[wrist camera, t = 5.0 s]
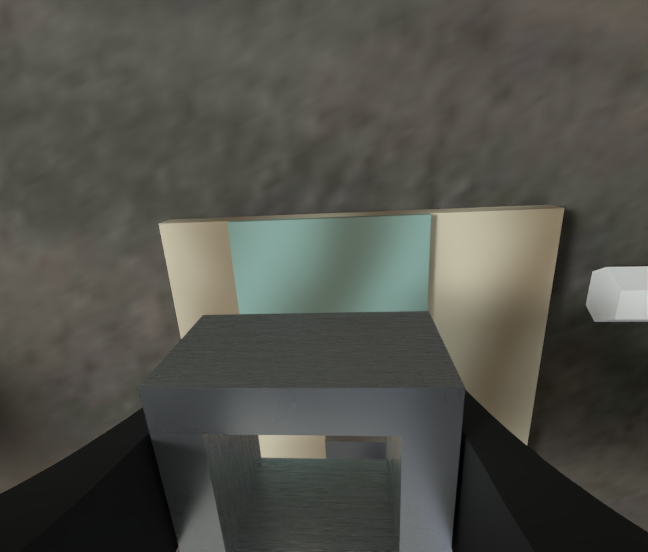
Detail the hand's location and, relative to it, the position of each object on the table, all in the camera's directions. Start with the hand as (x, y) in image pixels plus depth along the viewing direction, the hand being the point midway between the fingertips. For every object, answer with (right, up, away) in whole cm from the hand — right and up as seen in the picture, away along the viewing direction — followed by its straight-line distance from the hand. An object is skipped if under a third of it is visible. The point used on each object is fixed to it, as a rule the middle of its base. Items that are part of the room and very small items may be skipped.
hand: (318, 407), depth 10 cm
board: (+2, -3, +9) cm, 10 cm away
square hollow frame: (0, 0, 0) cm, 0 cm away
